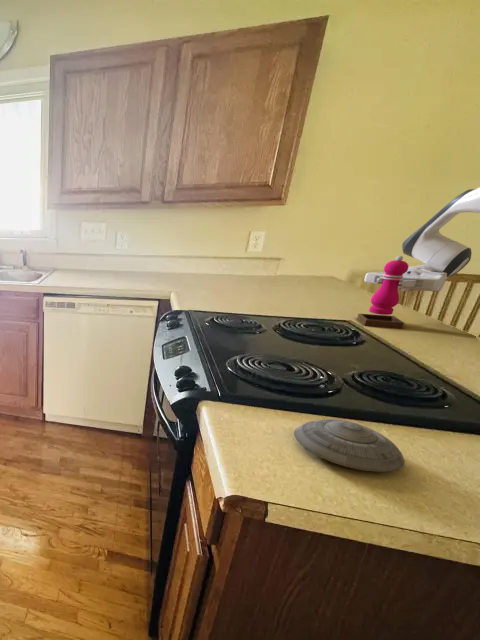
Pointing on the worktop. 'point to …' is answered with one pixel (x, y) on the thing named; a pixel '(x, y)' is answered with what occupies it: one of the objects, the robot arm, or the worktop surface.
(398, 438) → the worktop surface
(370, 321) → the tray
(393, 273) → the pepper mill
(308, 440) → the flying saucer
